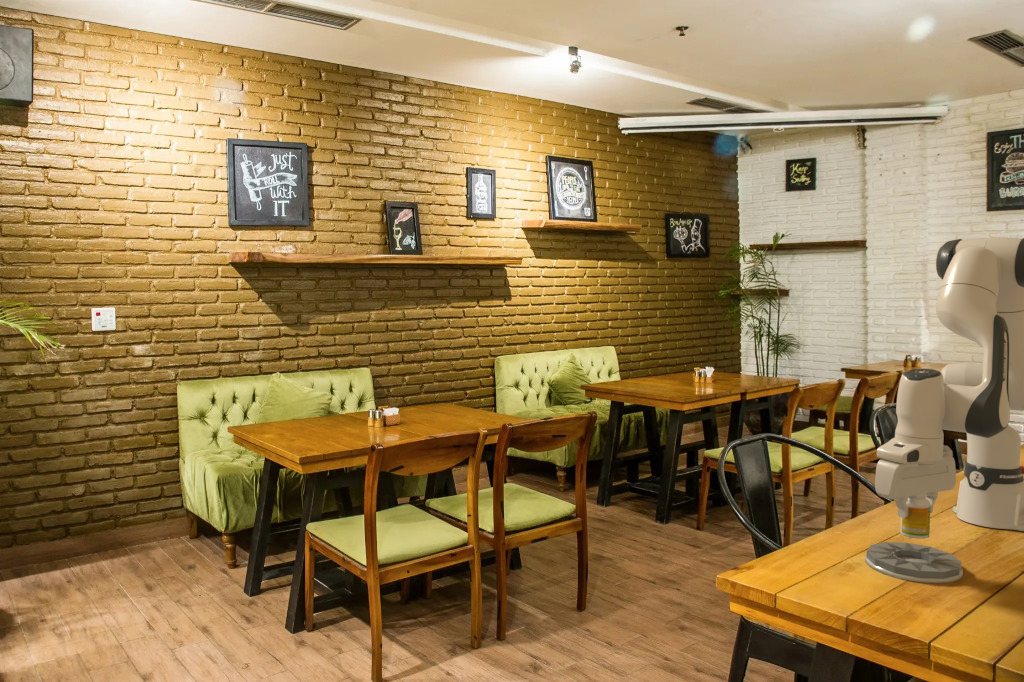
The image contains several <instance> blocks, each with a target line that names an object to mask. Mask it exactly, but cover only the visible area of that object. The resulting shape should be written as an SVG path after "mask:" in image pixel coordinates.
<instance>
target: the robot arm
mask: <svg viewBox="0 0 1024 682" xmlns="http://www.w3.org/2000/svg"><path fill="white" fill-rule="evenodd" d="M937 251H938V252H937V254H936V258H935V269H936V274H937V276H938V277H939V278H940V279H941V280H942V281H941V284H940V286H939V291H938V295H937V297H936V304H935V312H936V316H937V318H938V320H939V321H940V323H941V324H942V325H943V326H944V327H945V328H947V330H949V331H951V332H952V333H954V334H956V335H957V336H960V337H962V338H965V339H967V340H969V341H973V342H974V343H976V344H977V345H978V346H979V347H981V348H982V350H983V352H982V362H977V361H975V362H973V361H962V362H954V363H948V364H946V365H945V366H944V367H942V369H941V370H940V371H939V370H937V369H934V368H933V369H932V368H914V369H913V368H912V369H909V370H907V371H904V372H903V373H902V374H901V375H900V376H901V377H900V379H899V383H898V389H897V394H896V406H895V407H896V408H895V414H896V417H897V425H896V428H895V430H894V437H893V438H891V439H890V440H888V441H887V442H886V443H883V444H882V445H880V446H879V447H878V448H877V449H876V457H877V458H878V459H879V460H878V461H877V463H876V468H875V481H874V482H875V484H874V485H875V486H874V488H875V492H876V494H877V496H879V497H881V498H884V499H887V500H894V503H895V504H896V507H897V516H898V517H900V518H901V517H902V518H907V517H910V512H911V509H908V508H907V504H906V502H908V497H910V496H916V495H920V494H921V493H922V492H923V491H927V497H926V499H927V500H928V501H929V502H930V514H932V513H933V511H934V505H935V503H936V500H937V498H938V496H939V495H938V493H939V492H940V493H941V492H945V491H952V490H954V488H955V486H956V485H957V471H956V461H955V458H954V457H953V456H954V454H953V450H952V449H951V448H950V447H949V446H948V445H945V444H944V438H945V437H944V431H945V430H946V431H950V432H951V431H952V432H959V433H965V434H966V444H967V445H966V447H967V448H966V449H967V452H966V453H967V454H966V460H965V462H964V466H963V475H964V476H965V477H964V478H963V479H962V480H960V483H959V487H958V488H959V489H958V496H957V503H956V505H955V506H953V507H952V512H954V513H955V515H956V518H958V519H960V520H961V521H963V522H966V523H968V524H973V525H975V526H976V525H977V526H981V527H986V528H992V529H1001V530H1013V531H1020V532H1024V465H1020V463H1021V449H1022V448H1021V446H1022V445H1021V444H1022V439H1021V435H1020V434H1019V432H1018V431H1017V430H1016V429H1015V428H1013V427H1012V426H1010V425H1009V422H1010V418H1011V411H1019V412H1020V411H1021V412H1024V237H1023V238H1018V237H1017V238H1014V237H1005V236H1003V237H1001V236H1000V237H997V236H991V237H984V238H980V237H979V238H970V239H969V238H968V239H962V238H958V239H957V238H956V239H951V240H948V241H945V243H944V244H942V245H941V246H940V248H939V249H938V250H937Z"/></svg>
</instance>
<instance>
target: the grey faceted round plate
mask: <svg viewBox="0 0 1024 682" xmlns="http://www.w3.org/2000/svg"><path fill="white" fill-rule="evenodd" d="M864 561H865V563H866V564H867V566H869V568H871V569H873V570H875V571H876V572H879V573H881V574H882V575H886V576H889V577H892V578H896V579H900V580H904V581H910V582H913V583H915V582H916V583H923V584H948V583H954V582H957V581H959V580H961V579H962V578H963V577H964V575H963V574H964V570H963V567H962V561H961V560H960V559H959V558H957V557H956V556H954V555H953V554H952V553H950V552H947V551H944V550H943V549H939V548H935V547H932V546H927V545H924V544H923V545H922V544H917V543H910V542H901V541H900V542H897V541H896V542H894V541H884V542H880V543H879V542H878V543H874V544H870V545H869V546H868V549H866V553H865V556H864Z"/></svg>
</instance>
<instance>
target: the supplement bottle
mask: <svg viewBox="0 0 1024 682" xmlns="http://www.w3.org/2000/svg"><path fill="white" fill-rule="evenodd" d="M926 497H927V491H923V492H922V493H921V494H920V495H916V496H910V497H908V502H906V504H907V508H908V509H911V512H910V517H907V518H902V517H900V518H899V519H900V520H899V521H900V523H899V532H900V534H901V535H902V536H904V537H907V538H911V539H919V540H920V539H928V538H929V537H930V533H931V532H930V531H931V529H930V527H931V513H930V502H929V501H928V500H927V499H926Z"/></svg>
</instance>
